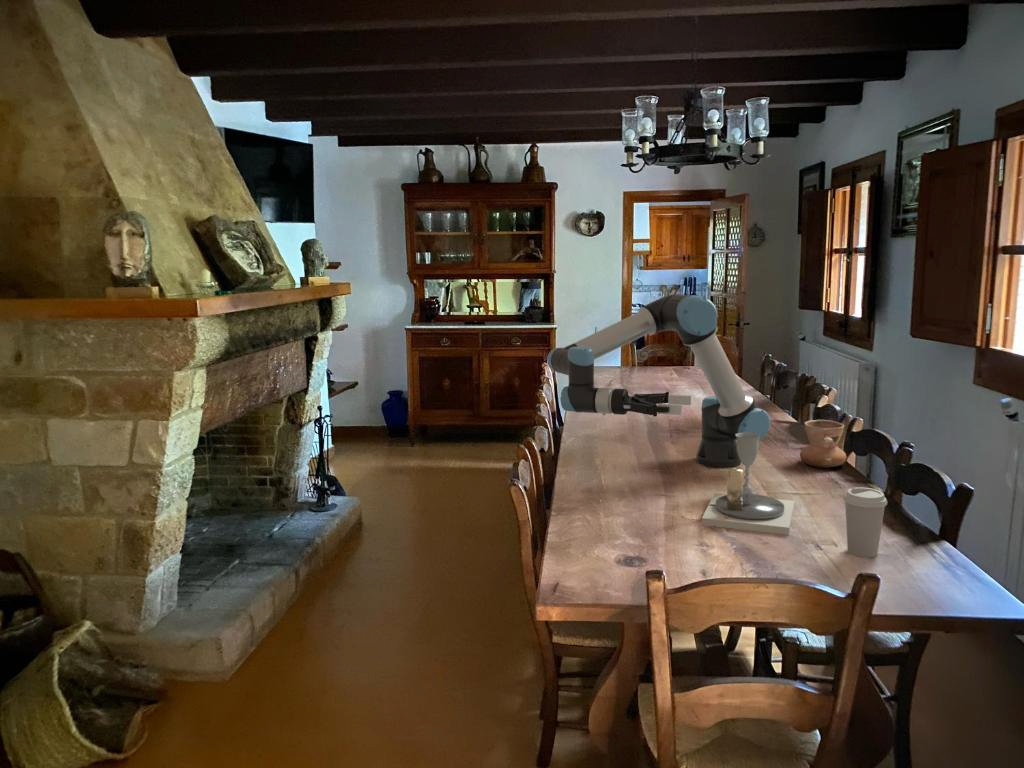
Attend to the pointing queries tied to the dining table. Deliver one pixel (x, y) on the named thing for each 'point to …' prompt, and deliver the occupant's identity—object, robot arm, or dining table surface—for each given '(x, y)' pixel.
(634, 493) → the dining table surface
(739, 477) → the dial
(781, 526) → the dial board
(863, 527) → the coffee cup
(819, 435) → the ceramic jug
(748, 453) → the chalice
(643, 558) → the dining table surface
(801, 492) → the dining table surface
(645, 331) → the robot arm
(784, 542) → the dining table surface
